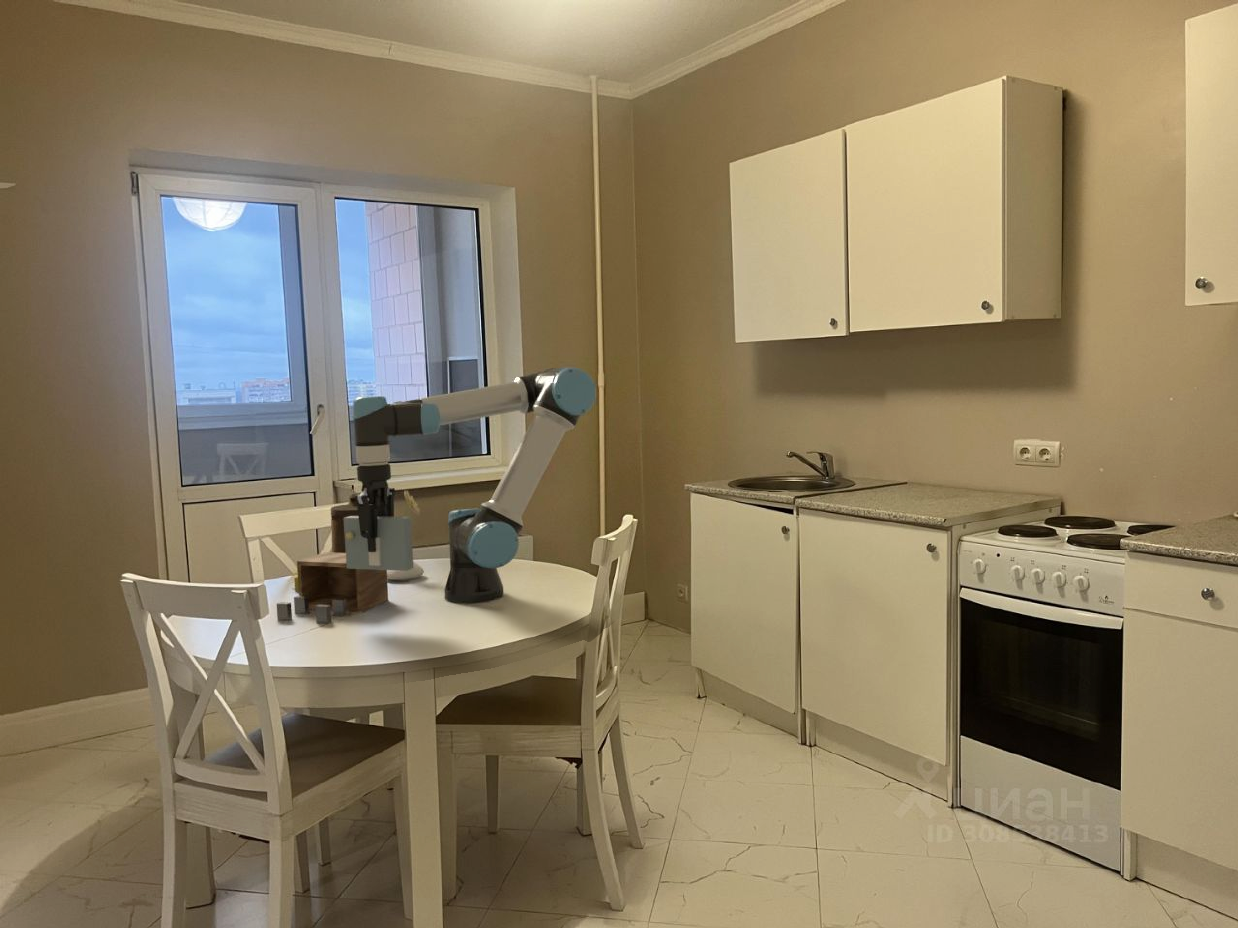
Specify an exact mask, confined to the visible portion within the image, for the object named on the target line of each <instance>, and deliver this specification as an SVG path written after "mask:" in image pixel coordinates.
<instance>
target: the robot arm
mask: <svg viewBox="0 0 1238 928" xmlns="http://www.w3.org/2000/svg"><path fill="white" fill-rule="evenodd" d="M596 399H597V387H596V384H595V381H594V380H593V378H592V377H591V375H590V374H589V373H588V372H586V370H583V369H581V368H578V367H575V366H574V367H573V366H565V367H552V368H547V369H544V370H539V371H538V372H534V373H531V374H527V375H523V376H518V377H515V379H514V380H513V381H511V382H505V383H501V384H495V385H489V386H484V387H478V388H473V389H467V390H462V391H455V392H449V393H446V394H445V393H444V394H439V395H434V396H432V395H431V396H428V397H423V398H418V399H411V400H405V401H401V400H400V401H394V402H392V403H388V402H387V398H386V397H385V396H383V395H381V396H360V397H359V396H358V397H356V398H355V399H354V400H353V404H352V405H353V406H352V407H353V416H352V419H353V427H354V430H353V431H354V442H355V453H356V454H355V456H356V459H355V460H356V463H357V464H358V465H357V467H356V475H357V481H358V482H361V485H362V486H361V492H360V494H358V495H355V501H356V504H357V509H358V517H359V526H360V534H361V536H362V537H363V538H367V542H368V552H369V565H373V566H380V565H381V553H380V537H377V519H378V516H385V517H395V503H394V502H395V501H394V500H395V499H394V498H395V492H396V489H395V488H394V487H389V484H388V481H389V480H391V478H392V474H391V473H392V472H391V470H392V469H391V464H390V463H388V462H390V461H391V455H390V454H391V452H390V441H389V440H390V437H400V436H401V437H405V436H422V435H423V436H427V435H433V434H437V433H438V432H439V430H440V426H444V425H449V424H450V425H451V424H456V423H460V422H461V423H462V422H465V421H471V420H476V419H481V418H488V417H492V416H498V415H503V414H509V413H513V412H514V413H515V412H519V413H520V414H522V415H523V414H528V413H534V417H533V418H532V420H531V422H530V424H529V426H528V428H527V430H526V432H525V434H524V435H523V438H522V440H521V441H520V443H519V445H518V447H517V449H516V451H515V452H514V455H513V456H512V458H511V460H510V462H509V464H508V466H507V467H506V470H505V472H504V473H503V475H502V477H501V479H500V481H499V483H498V485H497V487H496V489H495V490H494V493H493V495H492V496H491V498H490V500H488V501H485V502H482V503H480V506H479V508H478V507H477V508H466V509H454V510H450V512H449V513H448V519H447V520H448V521H447V526H448V542H449V543H448V544H449V546H448V547H449V564H450V565H449V567H450V568H449V572H448V576H447V580H446V583H445V587H444V599H445V600H446V601H448V602H452V603H460V604H473V603H475V604H476V603H486V602H490V601H494V600H499V599H500V598H502V597H503V596H504V595H503V594H504V584H503V582H502V579H501V577H500V576H501V575H500V574H499V572H498V571H499V570H498V569H499V568H502V567H504V566H506V565H508V564H509V563H510V562H511V561H512V560H513V559H514V557H515V556H516V554H517V552H518V549H519V546H520V544H519V535H520V533H521V531H522V529H523V527H524V521H523V518H522V516H523V513H524V512H525V509H526V508H527V506H528V504H529V502H530V501H531V498H532V496H533V495H534V492H536V491H535V490H536V489H537V487H538V485H539V483H540V481H541V479H542V478H543V475H544V474H545V472H546V469H547V467H548V466H549V464H550V462H551V460H552V458H553V456H554V454H555V453H556V450H557V448H558V447H559V444H560V442H561V440H562V439H563V437H564V436H565V434H566V433H565V432H568V431H570V430H574V428H575V427H576V425H577V424H578V422H579V419H580V418H581V415H584V414H586V413H587V412H588V411H590V410H591V408H592V407H593V406H594V404H595V402H596ZM369 504H373V505H369Z"/></svg>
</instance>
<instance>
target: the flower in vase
mask: <svg viewBox="0 0 1238 928" xmlns="http://www.w3.org/2000/svg"><path fill="white" fill-rule="evenodd" d="M403 494H404V498H405V500H406V502H407V505H406V507H405V509H404V511H403V513H402V517H406V516H405V513H406V511H407V509H408V507H409V508H410V509H411V510H412V512H413V513H415V514H416V515H420V512H421V510H420V509H419V507H418V506H419V505H418V503H417V502H416V501H415V500H414V497H413V495H410V493H409V490H404V492H403ZM413 567H414V568H412V569H410V570H407V571H400V570H387V580H388V579H389V580H393V581H406V580H413V579H417V578H419V577H421V576H423V574H424V573H425V571H424V569H423V567H422V566H421V565H419V564H418V563H417V562H415V561H414V560H413Z"/></svg>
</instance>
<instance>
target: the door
mask: <svg viewBox="0 0 1238 928" xmlns="http://www.w3.org/2000/svg"><path fill="white" fill-rule="evenodd" d="M411 517H412V516H405V517H403V516H394V517H385V516H378V519H377V537H380V553H381V565H380V566H373V565H369V552H368V542H367V538H363V537H362V536H361V534H360V526H359V517H358V516H349V517H345V518H344V533H345V548H346V563H347V569H373V570H400V571H407V570H410V569H412V568H414V567H413V561H414V554H413V553H414V552H413V539H412V536H413V535H412V522H411V521H412V519H411Z"/></svg>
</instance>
